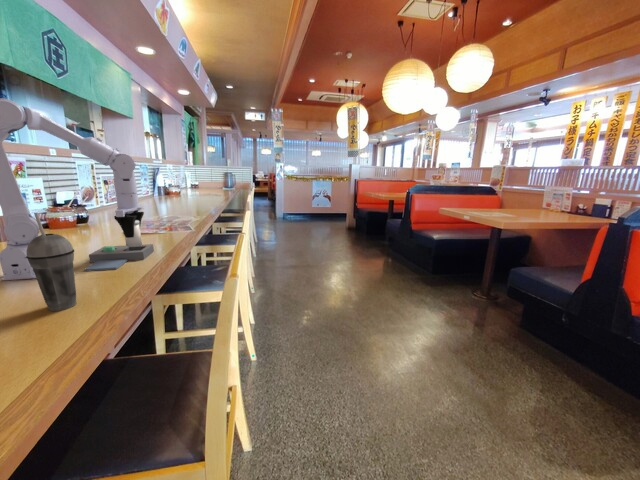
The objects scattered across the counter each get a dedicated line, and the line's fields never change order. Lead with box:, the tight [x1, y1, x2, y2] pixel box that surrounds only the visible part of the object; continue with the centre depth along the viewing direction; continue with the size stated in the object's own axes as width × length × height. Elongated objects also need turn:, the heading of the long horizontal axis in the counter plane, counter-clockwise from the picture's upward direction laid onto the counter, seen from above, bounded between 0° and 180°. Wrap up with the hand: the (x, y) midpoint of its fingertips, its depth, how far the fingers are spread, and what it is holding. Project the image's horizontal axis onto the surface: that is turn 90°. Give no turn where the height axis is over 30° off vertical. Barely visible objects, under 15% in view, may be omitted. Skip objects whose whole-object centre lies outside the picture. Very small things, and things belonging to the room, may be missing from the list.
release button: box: [103, 245, 115, 251], centre depth 95 cm, size 3×3×3 cm
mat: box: [84, 259, 129, 272], centre depth 87 cm, size 8×8×1 cm
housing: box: [88, 243, 155, 264], centre depth 96 cm, size 10×15×2 cm, turn 103°
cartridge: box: [124, 220, 143, 247], centre depth 95 cm, size 5×5×8 cm
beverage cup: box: [26, 212, 77, 312], centre depth 60 cm, size 7×7×20 cm
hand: (132, 235), depth 96 cm, fingers closed on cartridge, 4 cm apart
